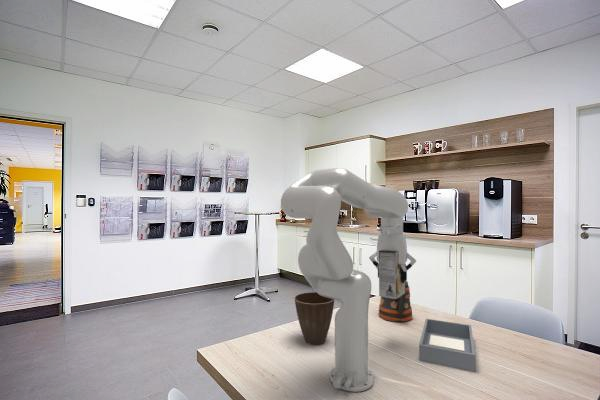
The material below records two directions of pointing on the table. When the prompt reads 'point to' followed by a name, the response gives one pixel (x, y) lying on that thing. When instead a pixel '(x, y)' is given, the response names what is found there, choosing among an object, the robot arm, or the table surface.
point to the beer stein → (396, 307)
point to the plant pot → (314, 316)
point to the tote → (446, 355)
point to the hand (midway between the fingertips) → (392, 280)
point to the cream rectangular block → (447, 343)
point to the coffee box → (390, 275)
